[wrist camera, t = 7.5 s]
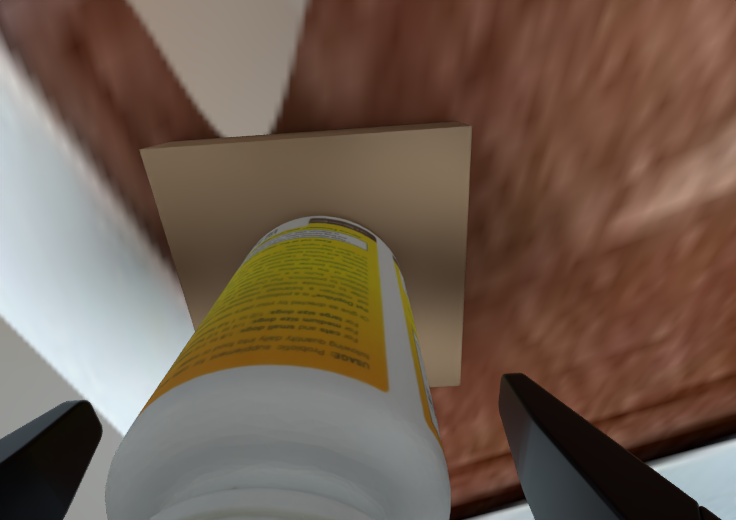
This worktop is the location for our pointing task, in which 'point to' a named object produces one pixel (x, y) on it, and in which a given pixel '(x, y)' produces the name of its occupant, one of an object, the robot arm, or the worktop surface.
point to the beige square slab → (326, 211)
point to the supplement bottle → (293, 396)
